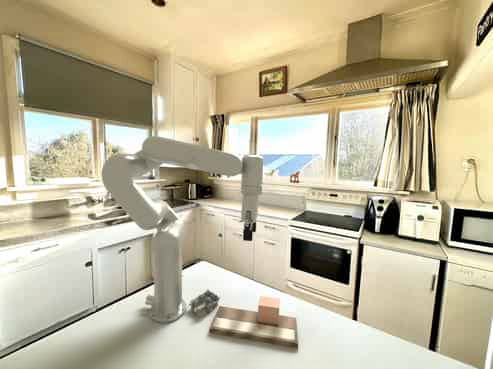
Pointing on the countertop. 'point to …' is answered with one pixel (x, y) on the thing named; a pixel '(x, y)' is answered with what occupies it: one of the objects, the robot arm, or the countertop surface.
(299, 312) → the countertop surface
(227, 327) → the board
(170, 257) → the robot arm
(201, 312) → the egg carton
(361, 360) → the countertop surface
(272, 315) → the peach rectangular block
